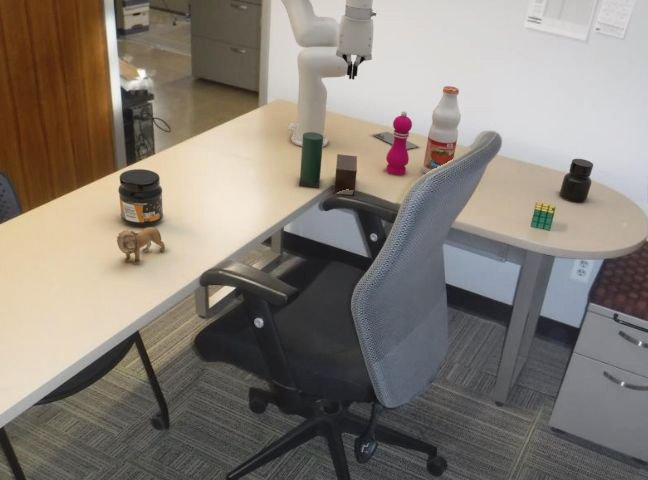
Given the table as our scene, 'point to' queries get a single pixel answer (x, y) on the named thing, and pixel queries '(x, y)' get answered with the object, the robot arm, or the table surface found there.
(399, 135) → the pepper mill
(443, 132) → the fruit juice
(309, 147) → the green tube
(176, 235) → the table surface
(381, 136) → the smartphone
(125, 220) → the supplement container
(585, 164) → the ink bottle
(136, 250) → the lion figurine
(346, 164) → the walnut block
